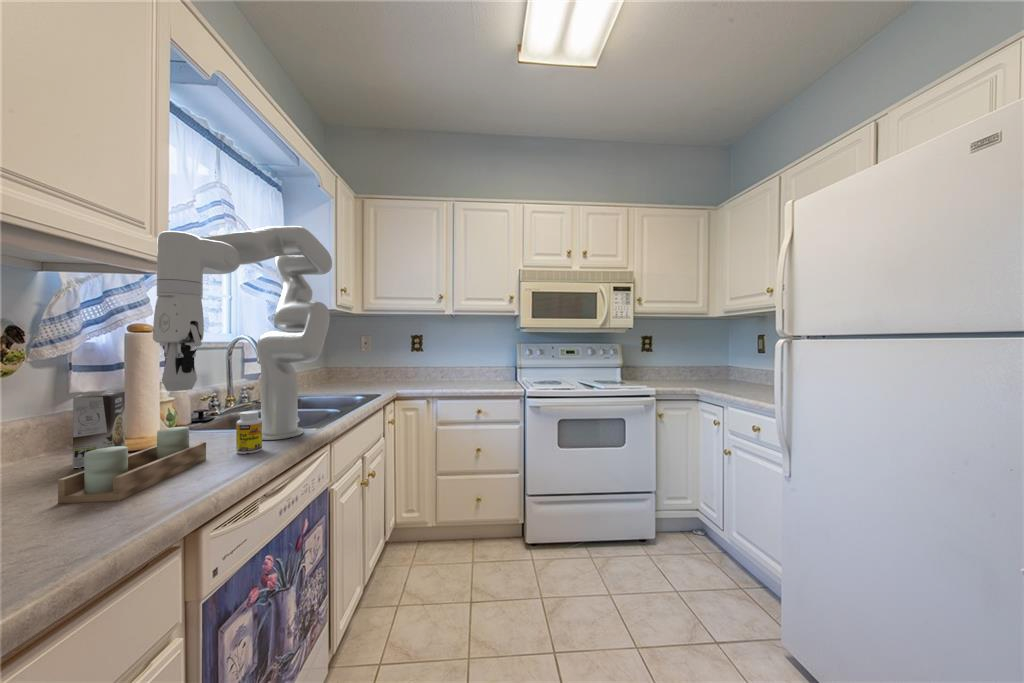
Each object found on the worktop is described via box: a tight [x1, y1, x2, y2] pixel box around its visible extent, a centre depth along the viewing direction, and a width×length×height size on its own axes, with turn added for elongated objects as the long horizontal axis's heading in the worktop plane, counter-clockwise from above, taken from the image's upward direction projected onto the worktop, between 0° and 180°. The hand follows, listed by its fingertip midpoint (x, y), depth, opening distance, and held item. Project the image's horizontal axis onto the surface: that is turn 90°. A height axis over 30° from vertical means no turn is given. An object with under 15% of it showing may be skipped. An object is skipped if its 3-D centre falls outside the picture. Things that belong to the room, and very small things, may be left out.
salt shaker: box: [161, 340, 198, 392], centre depth 83 cm, size 6×6×13 cm
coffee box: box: [72, 391, 126, 469], centre depth 91 cm, size 9×6×16 cm
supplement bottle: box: [235, 410, 263, 455], centre depth 100 cm, size 6×6×10 cm
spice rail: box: [57, 426, 207, 504], centre depth 80 cm, size 24×10×8 cm, turn 8°
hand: (179, 375), depth 83 cm, fingers closed on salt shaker, 3 cm apart
